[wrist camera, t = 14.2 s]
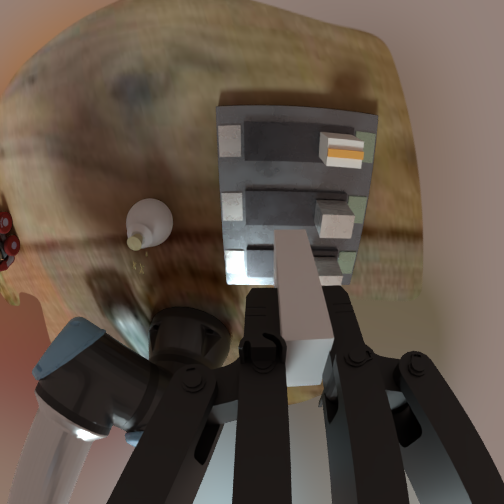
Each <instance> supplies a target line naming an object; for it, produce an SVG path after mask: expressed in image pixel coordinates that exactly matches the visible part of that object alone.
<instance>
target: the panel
mask: <svg viewBox="0 0 504 504" xmlns="http://www.w3.org/2000/svg"><path fill="white" fill-rule="evenodd" d="M216 122H217V145H218V165H219V184H220V200H221V216H222V230H223V244H224V257H225V270H226V282H227V284H248V285H274V230H301V229H305V230H306V233H307V236H308V240H309V243H310V247H311V250H312V254H313V257H314V261H315V264H316V268H317V271H318V275H319V279H320V283H321V286H330V285H340V286H341V285H349V284H350V281H351V277H352V273H353V269H354V264H355V260H356V256H357V252H358V247H359V242H360V238H361V233H362V228H363V223H364V218H365V212H366V207H367V201H368V195H369V189H370V183H371V176H372V169H373V161H374V153H375V144H376V135H377V124H378V116H377V115H374V114H368V113H361V112H354V111H347V110H338V109H329V108H318V107H305V106H286V105H229V106H216ZM320 132H329V133H340V134H349V135H353V136H355V137H357V138H359V139H360V140H362V141H364V147H363V152H364V157H363V160H362V165H361V169H359V168H347V167H334V166H326V165H325V164H324V162H323V161H322V160H321V159H320V157H319V143H320Z"/></svg>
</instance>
